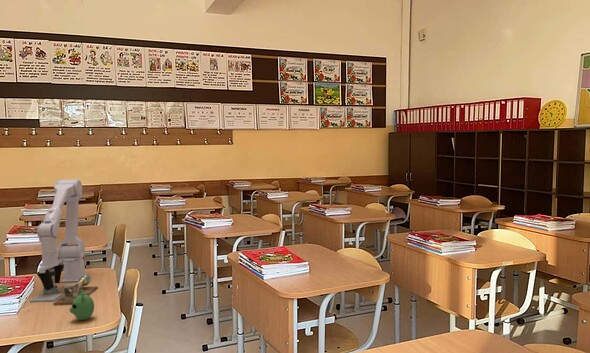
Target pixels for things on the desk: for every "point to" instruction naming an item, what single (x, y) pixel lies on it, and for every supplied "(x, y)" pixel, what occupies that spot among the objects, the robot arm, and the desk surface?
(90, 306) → the alien toy
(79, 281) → the shaft
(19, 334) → the desk surface
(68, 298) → the bracket
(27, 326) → the desk surface
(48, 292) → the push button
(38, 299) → the pad
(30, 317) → the desk surface
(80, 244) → the robot arm
